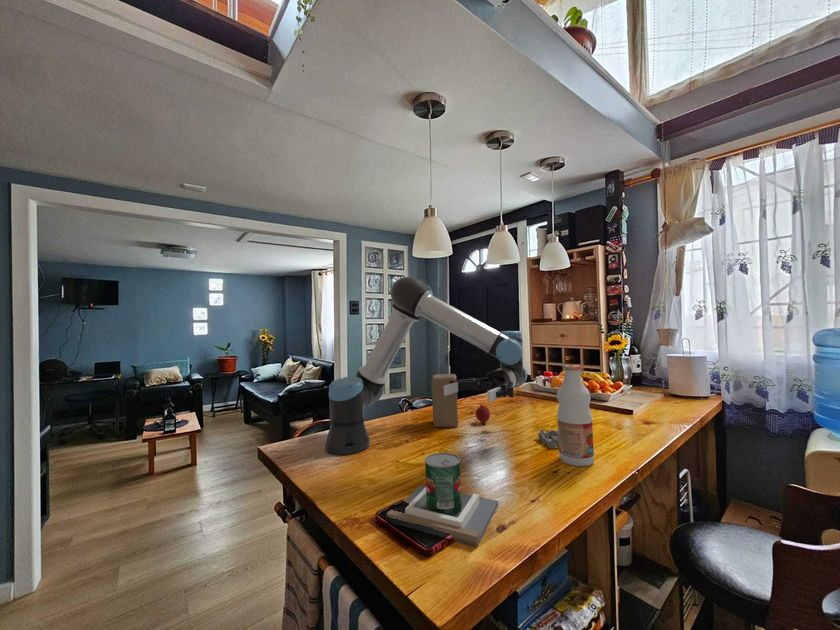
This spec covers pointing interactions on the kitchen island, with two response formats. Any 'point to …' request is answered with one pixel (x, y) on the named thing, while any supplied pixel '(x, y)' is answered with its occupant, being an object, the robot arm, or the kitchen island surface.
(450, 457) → the canned tomato
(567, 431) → the fruit juice
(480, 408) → the onion
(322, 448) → the kitchen island surface
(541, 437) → the egg carton
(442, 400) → the wooden block
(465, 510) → the board
